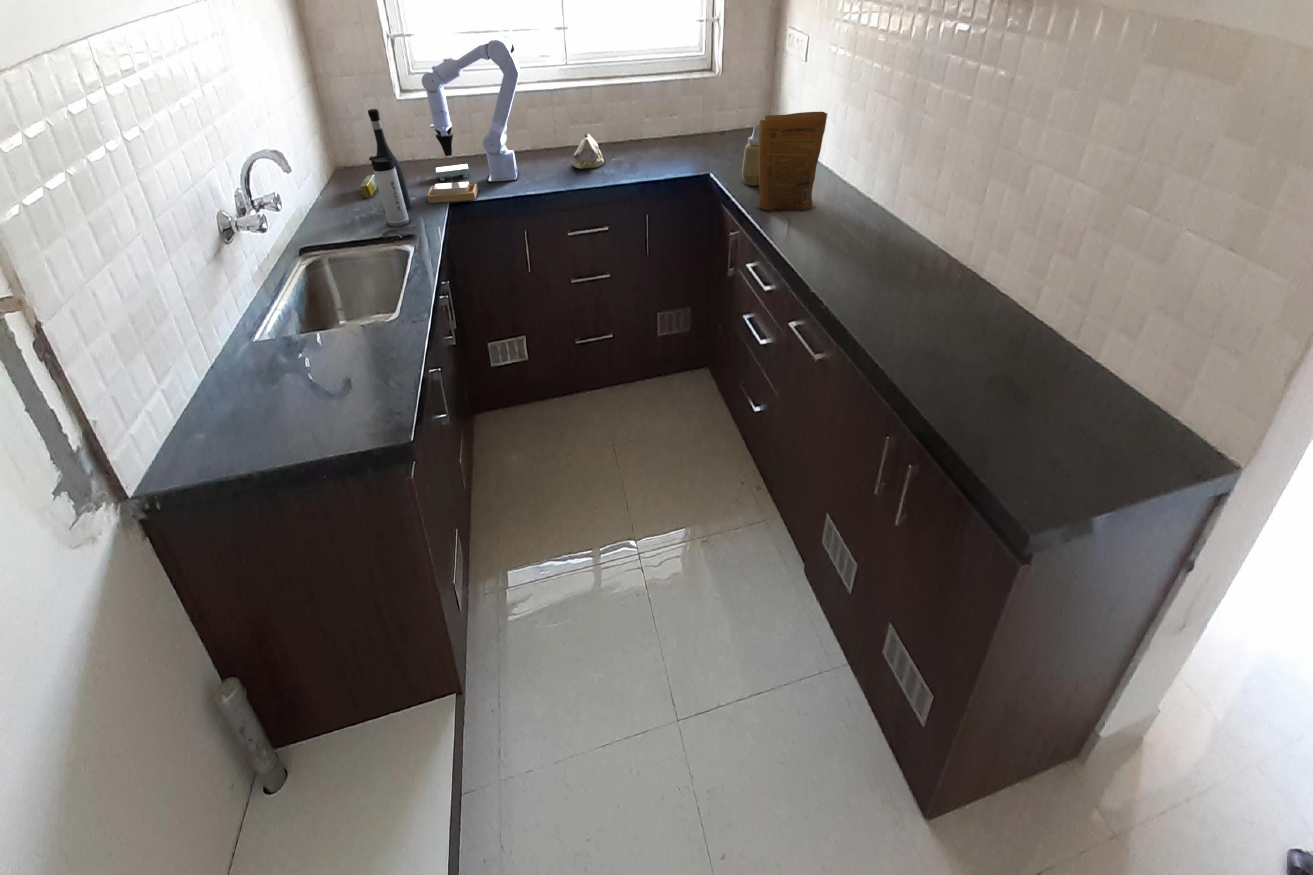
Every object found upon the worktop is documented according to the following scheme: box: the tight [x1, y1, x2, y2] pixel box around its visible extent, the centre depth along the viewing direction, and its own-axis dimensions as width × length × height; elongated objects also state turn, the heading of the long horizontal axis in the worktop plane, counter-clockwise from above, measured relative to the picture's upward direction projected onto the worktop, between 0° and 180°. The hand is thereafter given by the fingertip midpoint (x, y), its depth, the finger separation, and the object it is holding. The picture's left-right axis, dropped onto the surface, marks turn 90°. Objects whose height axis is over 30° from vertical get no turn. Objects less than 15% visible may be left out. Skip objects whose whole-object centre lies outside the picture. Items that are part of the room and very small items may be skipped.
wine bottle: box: [367, 108, 412, 211], centre depth 220 cm, size 8×8×30 cm
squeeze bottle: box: [741, 125, 759, 187], centre depth 231 cm, size 8×8×18 cm
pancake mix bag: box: [758, 111, 828, 212], centre depth 209 cm, size 7×19×28 cm, turn 86°
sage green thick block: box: [435, 163, 470, 182], centre depth 251 cm, size 11×5×3 cm, turn 105°
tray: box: [426, 183, 479, 204], centre depth 236 cm, size 15×9×2 cm, turn 95°
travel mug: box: [368, 155, 410, 228], centre depth 214 cm, size 6×7×20 cm
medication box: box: [359, 173, 378, 199], centre depth 242 cm, size 12×3×4 cm, turn 7°
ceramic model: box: [572, 133, 605, 169], centre depth 256 cm, size 14×11×10 cm
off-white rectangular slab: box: [433, 181, 470, 195], centre depth 236 cm, size 11×5×3 cm, turn 95°
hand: (448, 152), depth 245 cm, fingers open, 7 cm apart
